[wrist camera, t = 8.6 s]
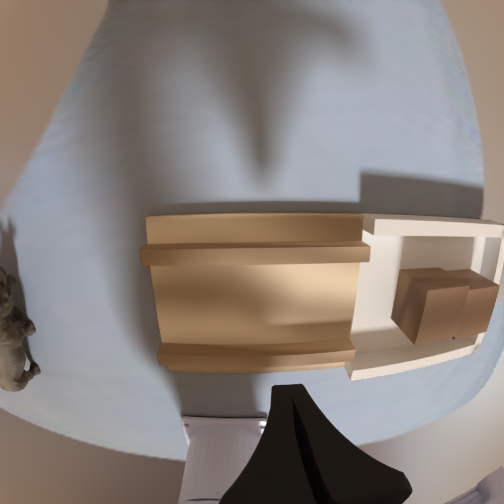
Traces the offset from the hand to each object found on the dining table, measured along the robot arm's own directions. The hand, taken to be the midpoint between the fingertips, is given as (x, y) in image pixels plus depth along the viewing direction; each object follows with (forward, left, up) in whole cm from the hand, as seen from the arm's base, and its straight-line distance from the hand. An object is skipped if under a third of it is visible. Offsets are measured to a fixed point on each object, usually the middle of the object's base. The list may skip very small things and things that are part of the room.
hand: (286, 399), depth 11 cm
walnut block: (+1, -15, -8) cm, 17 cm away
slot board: (+1, +1, -9) cm, 9 cm away
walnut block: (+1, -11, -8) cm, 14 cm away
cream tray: (+1, -13, -9) cm, 16 cm away
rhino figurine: (-2, +24, -9) cm, 25 cm away
